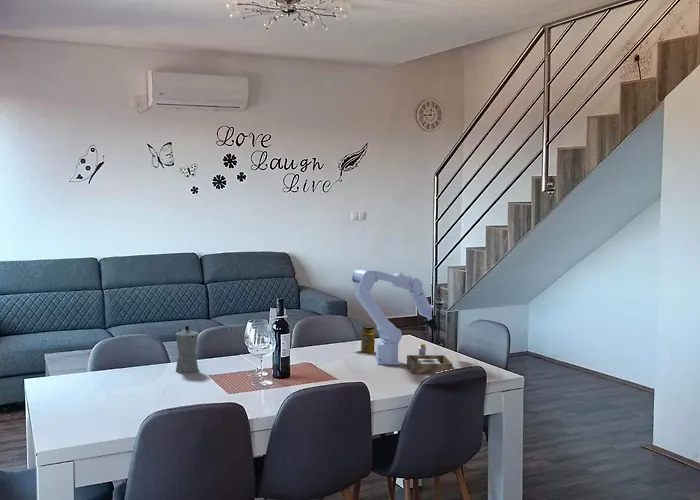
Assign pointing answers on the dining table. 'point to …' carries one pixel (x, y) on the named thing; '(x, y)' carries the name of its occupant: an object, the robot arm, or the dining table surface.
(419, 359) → the walled box
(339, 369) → the dining table surface
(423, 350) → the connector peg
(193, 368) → the coffeepot
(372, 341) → the condiment
